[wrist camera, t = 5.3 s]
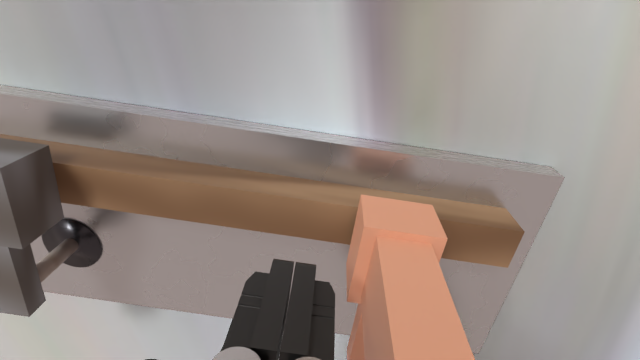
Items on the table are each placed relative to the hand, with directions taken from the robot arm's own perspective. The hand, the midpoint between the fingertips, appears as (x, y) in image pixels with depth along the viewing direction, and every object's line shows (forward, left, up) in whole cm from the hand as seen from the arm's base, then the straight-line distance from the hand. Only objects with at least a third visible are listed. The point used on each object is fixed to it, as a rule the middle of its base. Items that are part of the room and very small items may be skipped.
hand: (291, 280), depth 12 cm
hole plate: (+3, -3, -7) cm, 8 cm away
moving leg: (+2, +4, -6) cm, 7 cm away
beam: (+2, -3, -6) cm, 7 cm away
